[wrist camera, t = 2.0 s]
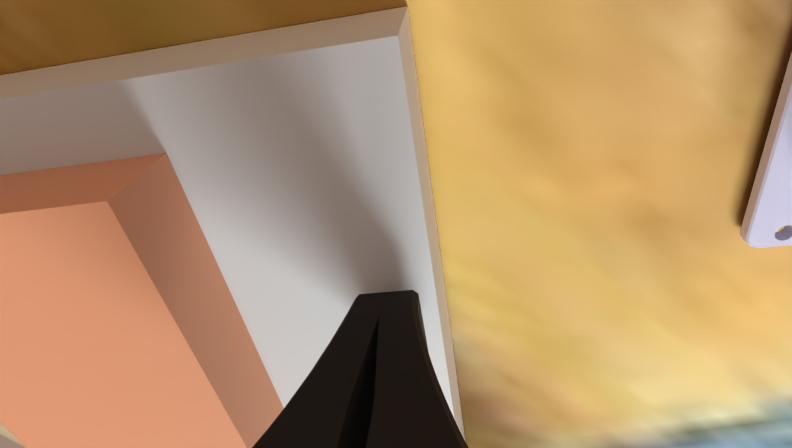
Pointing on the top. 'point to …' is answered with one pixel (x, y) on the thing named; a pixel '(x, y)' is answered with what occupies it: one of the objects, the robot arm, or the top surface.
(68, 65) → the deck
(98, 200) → the orange block
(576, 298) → the top surface
